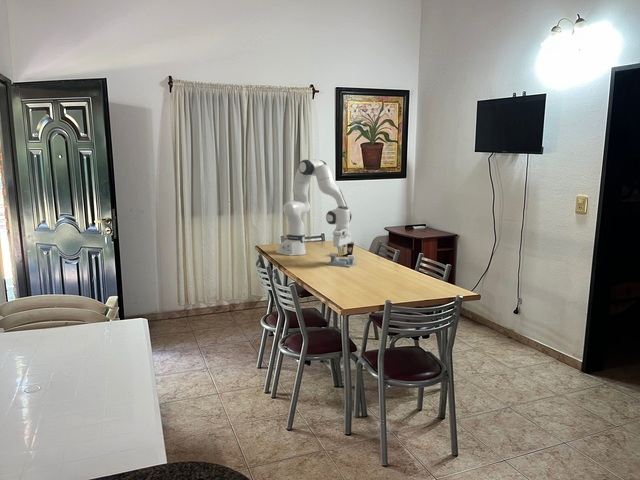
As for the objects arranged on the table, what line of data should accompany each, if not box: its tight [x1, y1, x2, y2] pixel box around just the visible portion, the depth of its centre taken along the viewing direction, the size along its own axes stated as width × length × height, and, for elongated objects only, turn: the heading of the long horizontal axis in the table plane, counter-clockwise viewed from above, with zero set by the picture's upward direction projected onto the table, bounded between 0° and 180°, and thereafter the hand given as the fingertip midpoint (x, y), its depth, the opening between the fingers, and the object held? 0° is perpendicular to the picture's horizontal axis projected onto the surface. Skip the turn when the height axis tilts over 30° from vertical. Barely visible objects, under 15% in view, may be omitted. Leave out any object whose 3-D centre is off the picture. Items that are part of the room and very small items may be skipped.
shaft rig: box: [327, 252, 357, 268], centre depth 330 cm, size 18×11×7 cm, turn 61°
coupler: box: [337, 246, 347, 256], centre depth 329 cm, size 4×4×5 cm
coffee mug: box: [336, 241, 355, 258], centre depth 357 cm, size 12×9×10 cm
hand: (342, 251), depth 329 cm, fingers closed on coupler, 4 cm apart
